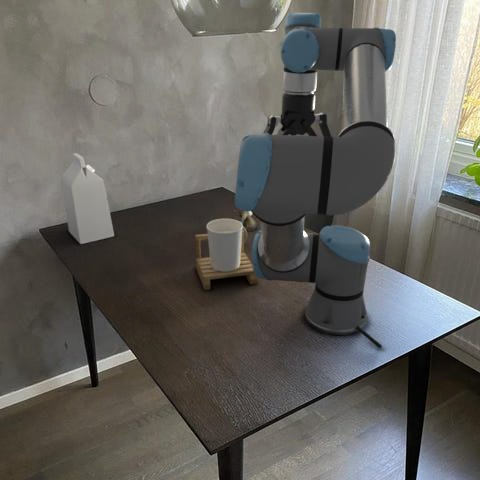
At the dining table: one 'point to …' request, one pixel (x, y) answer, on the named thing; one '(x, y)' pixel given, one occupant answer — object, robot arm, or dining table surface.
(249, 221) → the eagle figurine
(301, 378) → the dining table surface
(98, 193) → the milk
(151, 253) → the dining table surface
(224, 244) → the candle holder
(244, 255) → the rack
